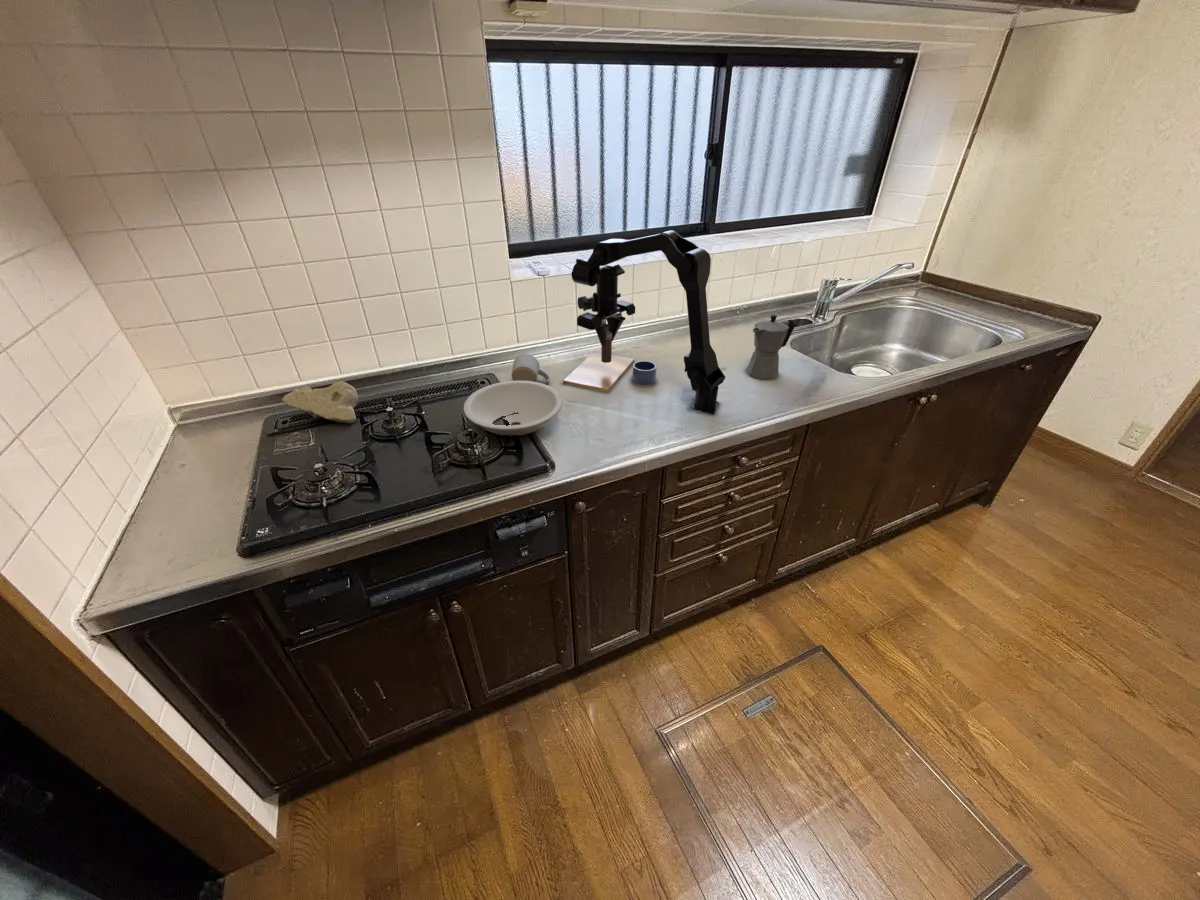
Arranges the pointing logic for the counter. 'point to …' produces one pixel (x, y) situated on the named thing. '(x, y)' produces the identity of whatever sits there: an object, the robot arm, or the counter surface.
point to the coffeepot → (768, 347)
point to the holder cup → (644, 372)
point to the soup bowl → (513, 406)
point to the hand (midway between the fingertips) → (606, 343)
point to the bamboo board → (598, 372)
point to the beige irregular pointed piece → (326, 401)
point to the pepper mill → (607, 349)
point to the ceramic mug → (528, 369)
